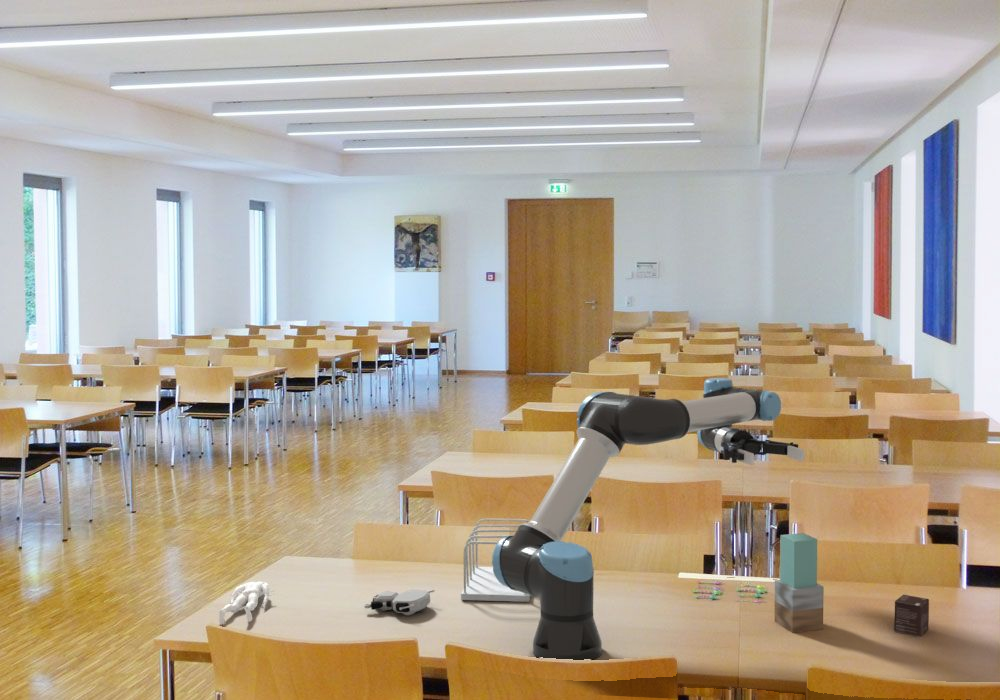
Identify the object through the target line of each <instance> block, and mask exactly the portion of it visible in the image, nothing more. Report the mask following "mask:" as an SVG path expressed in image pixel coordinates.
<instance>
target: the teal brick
mask: <svg viewBox="0 0 1000 700" xmlns="http://www.w3.org/2000/svg"><path fill="white" fill-rule="evenodd" d="M779 539H780V542H779V543H780V546H779V547H780V549H779V550H780V557H779V558H780V559H779V560H780V561H779V562H780V563H779V564H780V568H779V569H780V570H779V579H780V581H781V582H783V583H785V584H787V585H788V586H790V587H792V588H802V587H811V586H817V584H818V538H815V537H813V536H811V535H809V534H806V533H805V532H800V533H789V534H780V537H779Z"/></svg>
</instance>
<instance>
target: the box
mask: <svg viewBox="0 0 1000 700" xmlns="http://www.w3.org/2000/svg"><path fill="white" fill-rule="evenodd" d="M929 614H930V600H929V598H925V597H921V596H920V597H919V596H913V595H908V594H902V595H901V596H899V597H898V598H897V599H895V600H894V618H893V619H894V622H893V623H894V628H893V629H894V630H893V631H894V632H895V633H898V634H904V635H910V636H915V637H919V638H920V637H921V636H922V635H924V633H926V632H927V631H928V630H929V623H930V622H929V621H930V620H929V618H930V615H929Z"/></svg>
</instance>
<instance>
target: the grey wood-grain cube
mask: <svg viewBox="0 0 1000 700" xmlns="http://www.w3.org/2000/svg"><path fill="white" fill-rule="evenodd" d="M824 595H825V594H824V586H823V585H821V584H820V583H817V586H811V587H802V588H792V587H790V586H788V585H787V584H785V583H783V582H781V581H780V580H775V582H774V622H775V623H776V624H778V625H779V626H781V627H783V628H784V629H786V630H787V631H788V632H791V633H792V634H793V633H801V632H809V631H816V630H824V598H825V597H824Z"/></svg>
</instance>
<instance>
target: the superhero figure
mask: <svg viewBox="0 0 1000 700" xmlns="http://www.w3.org/2000/svg"><path fill="white" fill-rule="evenodd" d="M270 589H271V588H270V584H269V583H267V582H265V581H264V582H263V581H250V582H246V583H243V584H241V585H239V586H236V587H235V589H234V590H233V593H232V594H230V596H231V598H229V600H230V601H229V602H230V603H229V604H225V606H224V607H223V608H221V609H219V611H218V622H219V624H220V625H222V624H223V625H225V624H226V619H225V614H226V613H235V612H238V611H239V610H240V609H241V608H242V607H243V606H244V607H243V608H244V612H245V615H246V620H247V621H248V622H252V621H253V615H252V613H251V612H253V611H254V610H255V609H256V607H257V606H258V603H259V598H260V597H262V596H263V595H264V598H263V600H262V603H261V606H260V608H262V610H265V609H266V605H267V603H268V602H269V598H270V597H272V596H274V595H275V593H273V594H271V593H272V592H275V591H276V589H274V590H270ZM245 604H246V606H245ZM223 625H222V626H223Z"/></svg>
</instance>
